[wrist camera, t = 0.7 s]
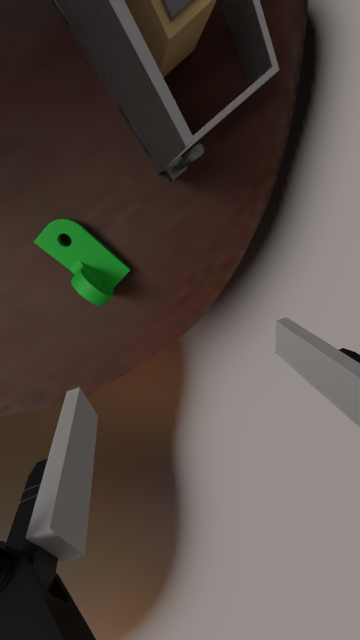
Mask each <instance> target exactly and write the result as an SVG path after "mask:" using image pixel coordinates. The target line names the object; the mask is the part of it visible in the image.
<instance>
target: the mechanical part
mask: <svg viewBox="0 0 360 640" xmlns="http://www.w3.org/2000/svg"><path fill="white" fill-rule="evenodd" d="M63 233H64V234H67V235H69V236H70V238H71V241H72V242H71V245H65V244H63V243H62V241H61V239H60V237H61V235H62V234H63ZM34 243H35V244H36V245H38V246H39V247H40V248H42V249H43V250H44V251H46V252H47V253H48V254H50V255H51V256H52V257H54V258H55V259H56V260H57V261H59V262H60V263H61V264H63V265H64V266H65V267H67V268H68V269H69V270H70V271H72V273H73V274H74V277H73V279H72V280H71V283H72V285H73V287H74V288H75V290H76V291H77V292H78V293H79V294H80V295H81V296H83V297H84V298H85V299H87V300H88V301H90V302H91V303H93V304H95V305H98V306H104V305H105V303H106V302H107V301H108V300H109V299H110V298H111V297H112V296H113V290H114V287H115V286H116V285H117V284H118V283H119V282H120V281H121V280H122V279H123V278H124V277H125V276H126V274H127V273H128V272H129V271H130V268H129V267H128V266H127V265H126V264H125V263H124V262H122V261H121V260H120V259H119V258H118V257H117V256H116V255H115V254H113V253H112V252H111V251H110V250H109V249H108V248H107V247H106V246H105V245H103V244H102V243H101V242H100V241H99V240H98V239H97V238H96V237H94V236H93V235H92V234H91V233H90V232H89V231H88V230H87V229H85V228H84V227H83V226H82V225H81V224H79V223H78V222H76V221H74V220H70V219H58V220H55V221H52V222H51V223H49V224H48V225H47V226H46V228H45V229H44V230H43V231H42V233H41V234H40V235H39V236H38V238H37V239H36V240H35V241H34Z"/></svg>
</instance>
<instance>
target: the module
mask: <svg viewBox="0 0 360 640" xmlns="http://www.w3.org/2000/svg"><path fill="white" fill-rule="evenodd" d="M124 1H125V3H126V5H127V7H128V9H129V11H130V13H131V15H132V17H133V19H134V21H135V23H136V25H137V27H138V29H139V31H140V33H141V34H142V36H143V38H144V40H145V42H146V44H147V46H148V48H149V50H150V52H151V54H152V56H153V58H154V60H155V62H156V64H157V66H158V68H159V70H160V72H161V74H162V76H163V78H164V77H165V76H166V75H167V74H168V73H169V72H170V71H171V70H173V69H174V68H175V67H176V66H177V65H178V64H179V63H180V62H181V61H182V60H184V59H185V58H186V57H187V56H188V55H189V54H190V53H191V52H192V51H193V50H194V49H195V47H196V44H197V42H198V40H199V38H200V36H201V33H202V31H203V29H204V27H205V25H206V22H207V20H208V18H209V16H210V14H211V11H212V9H213V7H214V5H215V3H216V1H217V0H124Z"/></svg>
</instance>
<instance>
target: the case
mask: <svg viewBox="0 0 360 640" xmlns="http://www.w3.org/2000/svg"><path fill="white" fill-rule="evenodd" d="M219 1H220V4H221V7H222V9H223V12H224V15H225V18H226V21H227V24H228V27H229V29H230V32H231V35H232V38H233V41H234V44H235V47H236V49H237V52H238V55H239V58H240V61H241V64H242V67H243V69H244V72H245V75H246V78H247V81H248V84H249V88H247V89H246V90H245V91H244V92H243V93H242V94H240V95H239V96H238V97H237V98H236V99H235V100H234V101H232V102H231V103H230V104H229V105H228V106H227V107H225V108H224V109H223V110H222V111H221V112H220V113H219V114H217V115H216V116H215V117H214V118H213V119H212V120H211V121H209V122H208V123H207V124H206V125H205V126H204V127H202V128H201V129H200V130H199V131H198V132H197V133H196V134H194V135H193V136H192V134H191V132H190V130H189V128H188V126H187V124H186V122H185V120H184V118H183V116H182V114H181V112H180V110H179V108H178V106H177V104H176V102H175V100H174V98H173V96H172V94H171V92H170V90H169V88H168V86H167V84H166V82H165V80H164V78H163V76H162V74H161V72H160V70H159V68H158V66H157V64H156V62H155V60H154V58H153V56H152V54H151V52H150V50H149V48H148V46H147V44H146V42H145V40H144V38H143V36H142V34H141V33H140V31H139V29H138V27H137V25H136V23H135V21H134V19H133V17H132V15H131V13H130V11H129V9H128V7H127V5H126V3H125V1H124V0H51V2H52V4H53V5H54V7H55V8H56V10H57V12H58V13H59V15H60V16H61V18H62V20H63V21H64V23H65V24H66V26H67V28H68V29H69V31H70V32H71V34H72V36H73V37H74V39H75V40H76V42H77V44H78V45H79V47H80V48H81V50H82V52H83V53H84V55H85V57H86V58H87V60H88V61H89V63H90V65H91V66H92V68H93V69H94V71H95V73H96V74H97V76H98V77H99V79H100V81H101V82H102V84H103V85H104V87H105V89H106V90H107V92H108V93H109V95H110V97H111V98H112V100H113V101H114V103H115V105H116V106H117V108H118V109H119V111H120V113H121V114H122V116H123V117H124V119H125V121H126V122H127V124H128V125H129V127H130V129H131V130H132V132H133V133H134V135H135V137H136V138H137V140H138V141H139V143H140V145H141V146H142V148H143V149H144V151H145V153H146V154H147V156H148V157H149V159H150V161H151V162H152V164H153V165H154V167H155V169H156V170H157V172H158V173H159V174H160V173H161V172H163V171H164V172H165V174H166V177H167V178H168V179H169V181H170V182H172V181H173V180H174V179H175V178H177V177H178V176H179V175H180V174H181V173H182V172H184V171H185V170H186V169H187V165H189V164H190V163H192V162H193V161H194V160H196V159H197V158H199V157H200V156H201V155H203V153H204V146H203V145H202V144H197V145H196V146H195V147H194V148H193V149H191V150H190V151H189V152H188V153H187V154H186V155H185V156H184V157H183V158H182V157H181V155H182V154H183V153H185V152H186V151H187V150H188V149H189V148H190V147H192V146H193V145H194V144H195V143H196V142H197V141H198V140H200V139H201V138H202V137H203V136H204V135H205V134H207V133H208V132H209V131H210V130H211V129H212V128H214V127H215V126H216V125H217V124H218V123H219V122H221V121H222V120H223V119H224V118H225V117H226V116H227V115H229V114H230V113H231V112H232V111H233V110H234V109H236V108H237V107H238V106H239V105H240V104H241V103H243V102H244V101H245V100H246V99H247V98H248V97H249V96H251V95H252V94H253V93H254V92H255V91H256V90H258V89H259V88H260V87H261V86H262V85H263V84H264V83H265V82H266V81H268V80H269V79H270V78H271V77H272V76H273V75H274V74H275V73H276V72H278V71H279V67H278V63H277V60H276V56H275V53H274V49H273V46H272V42H271V38H270V35H269V31H268V28H267V24H266V21H265V17H264V14H263V10H262V7H261V3H260V0H219Z"/></svg>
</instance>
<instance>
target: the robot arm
mask: <svg viewBox="0 0 360 640" xmlns="http://www.w3.org/2000/svg"><path fill="white" fill-rule="evenodd" d="M276 353H277V354H278V355H279V356H280V357H281V358H282V359H283V360H284V361H286V362H287V363H288V364H289V365H290V366H292V368H293V369H295V370H296V371H297V372H298V373H299V374H300V375H302V377H304V378H305V379H306V380H307V381H308V382H309V383H310V384H311V385H313V386H314V387H315V388H316V389H317V390H318V391H319V392H320V393H322V394H323V395H324V396H325V397H326V398H327V399H329V400H330V401H331V402H332V403H333V404H334V405H335V406H336V407H337V408H339V409H340V410H341V411H342V412H343V413H344V414H345V415H346V416H348V417H349V418H350V419H351V420H352V421H353V422H354V423H355V424H357V425H358V426H359V427H360V355H359V354H357V353H356V352H353V351H350V350H347V349H344V348H342V349H340V350H338V349H336V348H334V347H333V346H331V345H330V344H328V343H326V342H325V341H323V340H322V339H320V338H318V337H317V336H315V335H314V334H312V333H310V332H309V331H307V330H305V329H304V328H302V327H301V326H299V325H297V324H296V323H294V322H293V321H291V320H289V319H288V318H283V319H280V320H277V321H276ZM97 420H98V416H97V414H96V413H95V411H94V410H93V408H92V406H91V405H90V403H89V401H88V400H87V398H86V397H85V395H84V393H83V392H82V390H81V388H80V387H79V388H76V389H73V390H70V391H67V393H66V396H65V400H64V403H63V407H62V411H61V414H60V418H59V421H58V425H57V428H56V432H55V435H54V439H53V443H52V446H51V450H50V453H49V457H48V459H46V460H43V461H40V462H38V463H37V464H36V465H35V467H34V468H33V470H32V472H31V473H30V475H29V477H28V480H27V483H26V486H25V489H24V492H23V495H22V498H21V500H20V501H21V503H20V504H19V507H18V510H17V512H16V515H15V518H14V522H13V525H12V527H11V530H10V533H9V536H8V539H7V542H6V543H5V542H3V541H0V640H96V639H95V637H94V635H93V634H92V632H91V630H90V628H89V627H88V625H87V623H86V621H85V620H84V618H83V616H82V615H81V613H80V611H79V609H78V608H77V606H76V604H75V603H74V601H73V599H72V597H71V596H70V594H69V592H68V591H67V589H66V587H65V585H64V584H63V582H62V580H61V578H60V577H59V575H58V574H57V573H56V567H57V561H58V560H59V561H61V562H63V563H64V564H66V563H68V562H70V561H73V560H75V559H78V558H80V557H82V556H84V555H85V546H86V535H87V525H88V515H89V504H90V494H91V484H92V473H93V463H94V452H95V441H96V431H97Z"/></svg>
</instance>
